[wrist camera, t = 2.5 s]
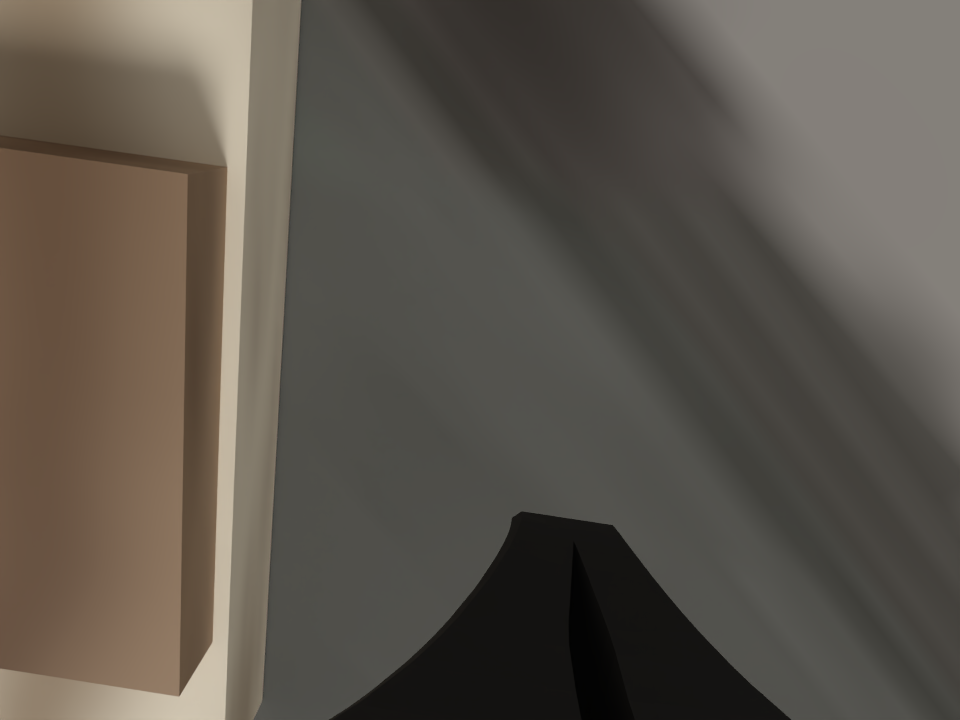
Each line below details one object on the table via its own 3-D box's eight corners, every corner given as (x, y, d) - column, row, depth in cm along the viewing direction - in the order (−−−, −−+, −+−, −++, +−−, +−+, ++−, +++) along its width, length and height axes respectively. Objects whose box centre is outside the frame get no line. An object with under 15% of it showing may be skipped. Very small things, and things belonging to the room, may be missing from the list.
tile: (-90, 595, 15) (-154, 644, 14) (-140, 115, 13) (-226, 116, 11) (212, 642, 15) (179, 696, 14) (227, 167, 13) (187, 173, 11)
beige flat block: (-47, 651, 19) (-131, 729, 17) (-114, -100, 14) (-245, -143, 12) (262, 699, 19) (222, 786, 16) (303, -44, 14) (255, -77, 11)
